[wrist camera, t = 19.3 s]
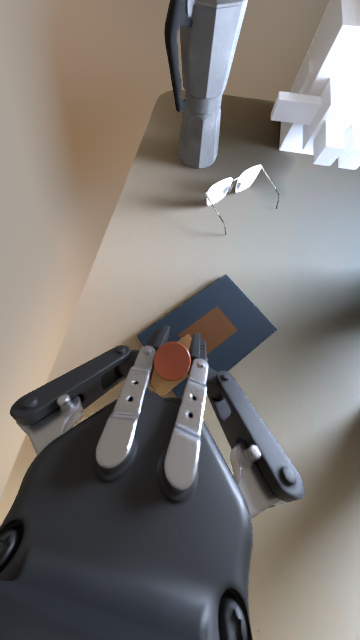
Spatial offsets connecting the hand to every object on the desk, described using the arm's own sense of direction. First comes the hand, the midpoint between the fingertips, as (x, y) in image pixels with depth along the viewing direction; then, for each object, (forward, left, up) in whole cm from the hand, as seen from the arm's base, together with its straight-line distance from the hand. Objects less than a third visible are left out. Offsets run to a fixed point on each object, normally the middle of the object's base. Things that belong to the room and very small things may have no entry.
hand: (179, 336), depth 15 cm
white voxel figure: (+52, +18, -7) cm, 56 cm away
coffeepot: (+28, +33, -7) cm, 44 cm away
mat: (+4, -1, -7) cm, 8 cm away
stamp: (-2, -2, -6) cm, 6 cm away
